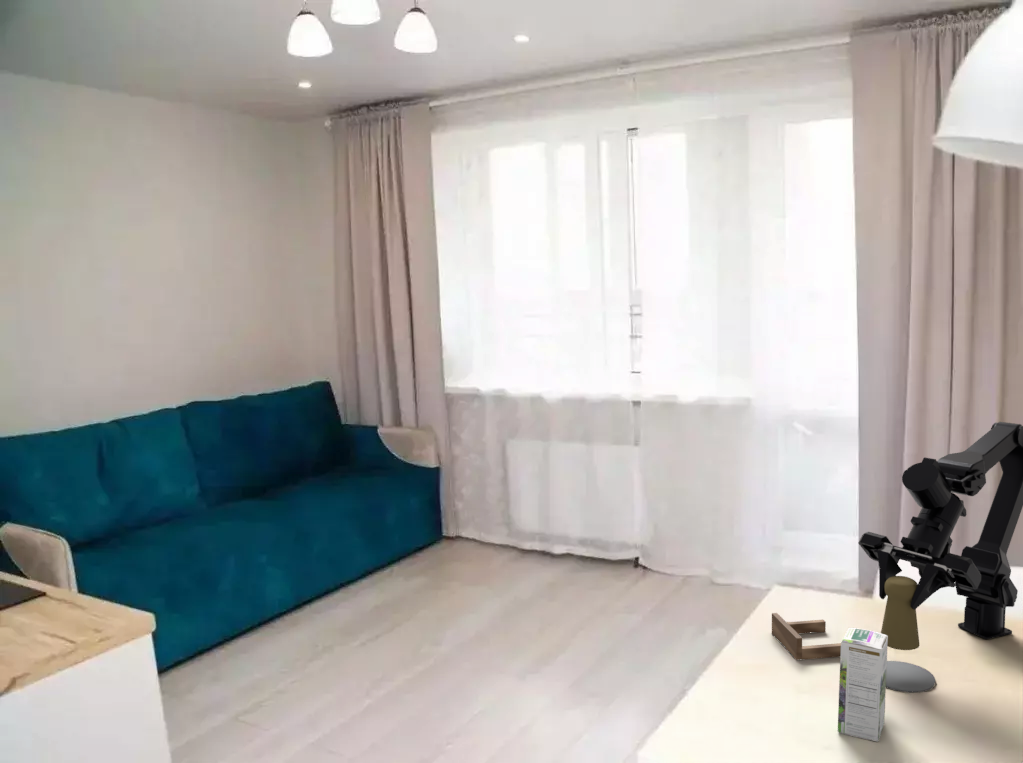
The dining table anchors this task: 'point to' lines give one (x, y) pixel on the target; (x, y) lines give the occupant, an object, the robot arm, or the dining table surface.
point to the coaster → (908, 677)
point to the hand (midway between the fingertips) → (896, 603)
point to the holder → (793, 640)
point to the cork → (900, 614)
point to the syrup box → (862, 683)
